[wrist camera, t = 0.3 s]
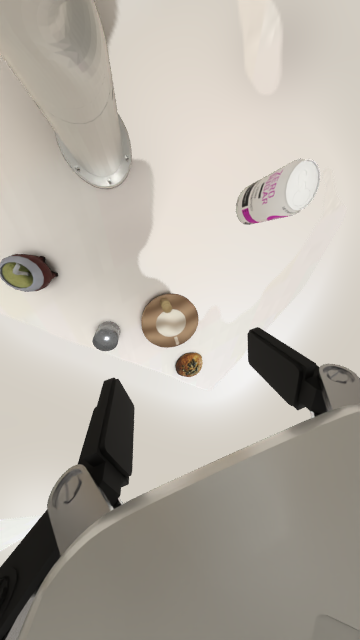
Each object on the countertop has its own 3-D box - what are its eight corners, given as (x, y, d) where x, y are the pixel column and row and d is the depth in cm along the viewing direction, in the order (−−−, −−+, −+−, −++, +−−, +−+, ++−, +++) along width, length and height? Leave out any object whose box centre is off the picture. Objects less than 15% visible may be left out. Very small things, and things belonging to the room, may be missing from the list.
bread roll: (168, 364, 56) (173, 373, 51) (191, 344, 56) (197, 352, 52) (184, 378, 61) (189, 387, 57) (204, 360, 62) (211, 368, 58)
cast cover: (94, 325, 43) (87, 336, 38) (114, 318, 43) (111, 328, 38) (104, 341, 46) (99, 354, 40) (123, 335, 46) (121, 346, 41)
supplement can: (262, 219, 42) (319, 206, 29) (236, 229, 41) (282, 220, 28) (261, 182, 38) (326, 147, 25) (232, 192, 37) (283, 162, 24)
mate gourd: (21, 279, 34) (-51, 298, 21) (23, 243, 32) (-58, 240, 19) (60, 290, 37) (17, 312, 24) (64, 258, 35) (19, 264, 21)
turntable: (132, 304, 41) (131, 314, 35) (189, 285, 43) (198, 292, 37) (152, 350, 49) (154, 365, 43) (200, 333, 51) (208, 345, 45)
